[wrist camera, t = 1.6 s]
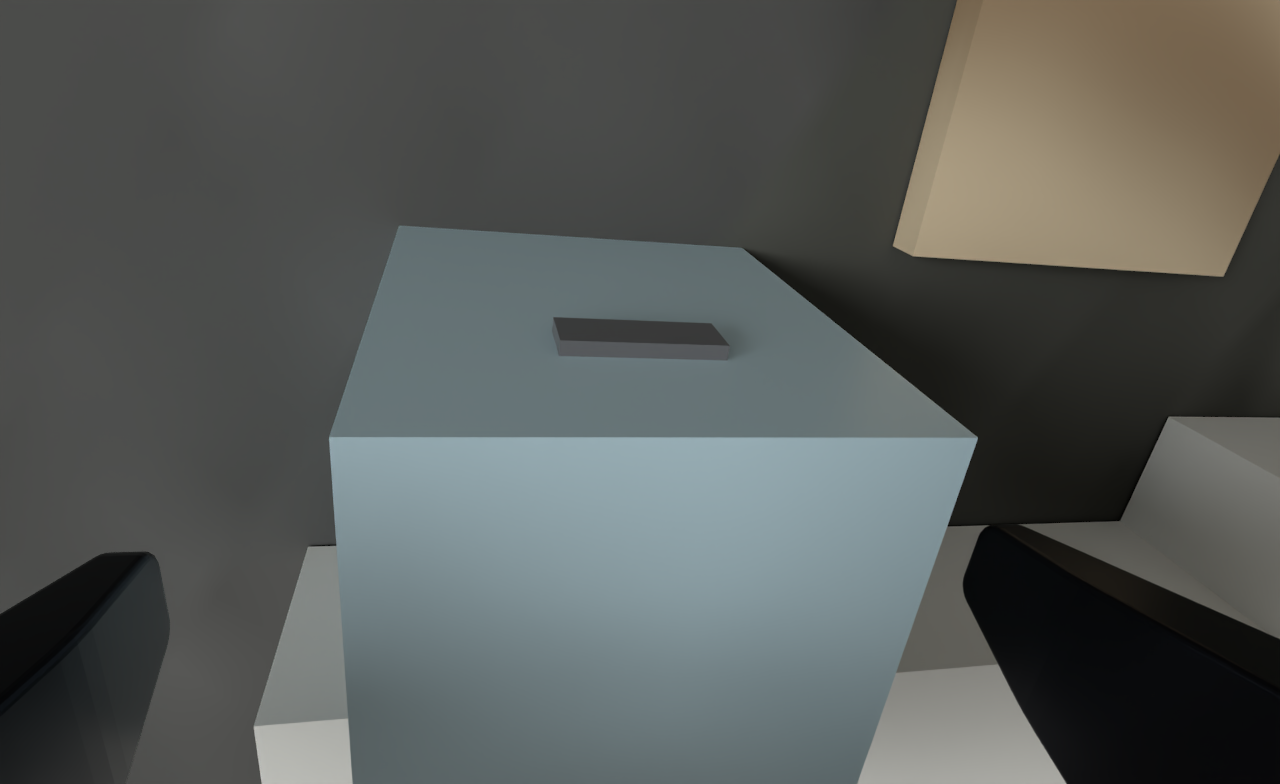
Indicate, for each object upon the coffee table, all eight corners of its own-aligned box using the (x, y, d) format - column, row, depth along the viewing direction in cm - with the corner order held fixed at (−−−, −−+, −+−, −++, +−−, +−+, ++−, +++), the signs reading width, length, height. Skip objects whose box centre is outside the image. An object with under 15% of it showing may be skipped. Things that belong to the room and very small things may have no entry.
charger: (676, 612, 14) (799, 950, 9) (407, 627, 13) (369, 1026, 8) (742, 237, 11) (984, 421, 6) (399, 213, 10) (328, 417, 5)
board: (1193, 266, 13) (1223, 276, 13) (892, 246, 12) (912, 256, 11) (1370, -137, 11) (1416, -147, 10) (1016, -226, 9) (1049, -240, 9)
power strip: (1304, 693, 20) (1460, 818, 17) (329, 797, 14) (291, 1016, 11) (1487, 419, 17) (1727, 512, 14) (295, 408, 11) (226, 566, 8)
